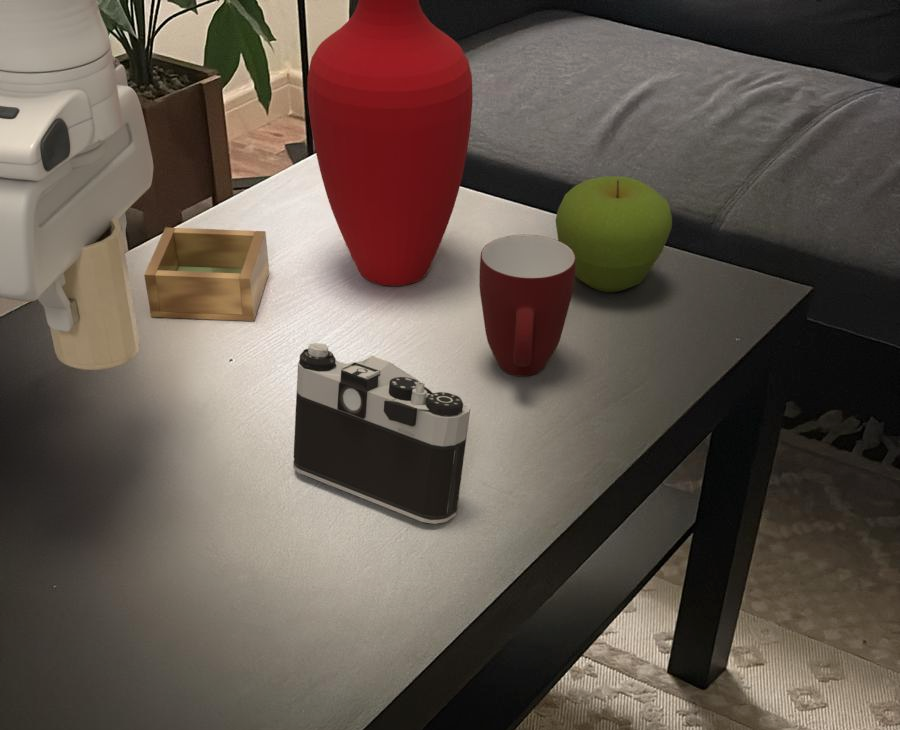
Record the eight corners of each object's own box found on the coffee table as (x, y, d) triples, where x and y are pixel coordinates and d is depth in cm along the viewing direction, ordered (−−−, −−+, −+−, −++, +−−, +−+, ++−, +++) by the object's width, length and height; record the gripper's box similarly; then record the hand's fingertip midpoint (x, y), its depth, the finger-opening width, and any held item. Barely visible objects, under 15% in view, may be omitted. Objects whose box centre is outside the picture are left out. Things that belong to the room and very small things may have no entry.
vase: (350, 228, 132) (335, -120, 110) (487, 251, 130) (500, -102, 107) (295, 293, 123) (266, -74, 101) (441, 319, 120) (444, -53, 98)
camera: (500, 487, 104) (518, 366, 98) (430, 532, 97) (445, 405, 91) (353, 432, 109) (361, 314, 103) (275, 471, 102) (279, 346, 96)
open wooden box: (151, 317, 120) (143, 274, 117) (171, 268, 126) (165, 227, 123) (254, 321, 119) (249, 278, 116) (269, 272, 126) (265, 231, 123)
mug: (575, 403, 111) (586, 292, 103) (483, 405, 110) (487, 294, 103) (560, 341, 118) (569, 233, 110) (472, 343, 117) (476, 234, 110)
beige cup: (45, 367, 94) (18, 246, 87) (66, 325, 98) (42, 206, 91) (129, 372, 94) (108, 251, 87) (147, 329, 98) (128, 211, 91)
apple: (533, 293, 124) (540, 188, 116) (580, 250, 130) (589, 148, 123) (635, 322, 120) (649, 215, 113) (679, 277, 127) (695, 173, 119)
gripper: (76, 37, 90) (109, 233, 100) (-77, 151, 77) (-20, 363, 87) (159, 48, 89) (184, 245, 99) (19, 165, 76) (65, 377, 86)
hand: (88, 301), depth 93 cm, fingers closed on beige cup, 6 cm apart
